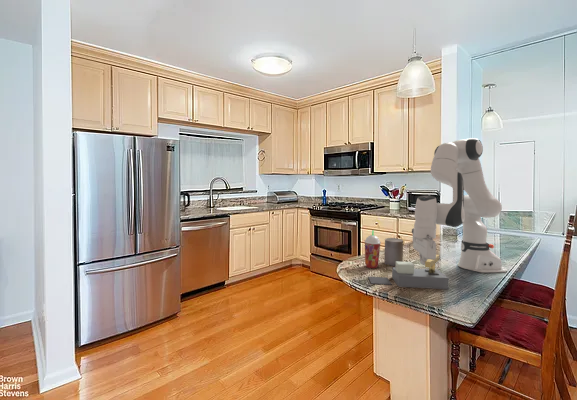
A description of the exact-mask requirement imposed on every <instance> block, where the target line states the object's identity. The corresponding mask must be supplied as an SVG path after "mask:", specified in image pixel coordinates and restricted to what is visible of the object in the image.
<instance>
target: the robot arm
mask: <svg viewBox="0 0 577 400" xmlns="http://www.w3.org/2000/svg"><path fill="white" fill-rule="evenodd" d="M483 151H484V147H483V144H482V141H481V140H479V139H478V138H477V137H469V138H466V139H465V138H463V139H457V140H454V141H450V142H444V143H441V144H440V145H437V147H436V148H435V150H434V153H433V158H432V161H431V165H430V175H431V176H432V177H433V179H435V180H436V181H437V182H439V183H441V184H444V185H446V186H449V187H451V188H452V202H450V203H441V202H437V198H436V197H435V196H433V195H420V196H417V199H416V203H415V207H414V219H415V221H414V225H413V228H412V229H411V234H412V248H413V250H415V251H416V252H418V254H419V255H418V256H419V263H420V264H421V265H422V266H425V261H427V260H428V259H433V260H434V259H436V254H437V243H436V241H435V240H434V239H436V237H437V225H441V226H446V227H451V228H458V227H459V226H461V225H462V240H461V243H460V250H461V252H460V257H459V260H458V263H457V266H458V267H460V268H461V269H465V270H469V271H474V272H478V273H507V272H508V270H507V268H506V267H504V266H503V264H502V263H503V262H502V259H501V258H500V257H499V256H498V255H497V254H495V253H494V252H493V251H492V250H491V249H494V248H495V245H494V244H492V243H488V242H487V240H488V239H487V237H488V228H487V226H486V225H485V224H484V223H483V221H482V218H484V219H485V218H487V219H491V218H496V217H498V216H499V215H500V214H501V211H502V208H503V207H502V202H501V201H500V200H499V199H498V198H496V197H495V196H494V195H493V194H492V193H491V191H490V190H489V188H488V186H487V184H486V181H485V177H484V173H483V172H484V171H483V167H482V164H481V161H480V157H481V156H482V154H483ZM464 192H465V193H466V194H465V193H464ZM464 194H465V195H464ZM506 271H507V272H506Z"/></svg>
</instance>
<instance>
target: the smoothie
mask: <svg viewBox="0 0 577 400" xmlns="http://www.w3.org/2000/svg"><path fill="white" fill-rule="evenodd" d="M374 232H375V231H374V229H373V230H372V231H371V235H368V236H367V237H366V239H364V264H365V267H366V268H368V269H377V268H378V266H379V261H380V260H379V259H380V251H381V244H382V243H381V241H380V239H379V237H378V236H377V235H375V233H374Z"/></svg>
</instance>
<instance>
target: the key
mask: <svg viewBox="0 0 577 400" xmlns="http://www.w3.org/2000/svg"><path fill="white" fill-rule="evenodd" d="M439 260H440V254H437V253H436V259H434V260H433V259H427V261H425V265H424V267H425V268H427V269H429V273H435V269H436V264H437V262H439Z"/></svg>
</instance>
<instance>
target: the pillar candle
mask: <svg viewBox="0 0 577 400" xmlns="http://www.w3.org/2000/svg"><path fill="white" fill-rule="evenodd" d="M383 255H384V256H383V257H384V258H383V260H384V261H383V262H384V264H385V265H387V266H390V267H395V266H396V261H400V262H404V259H403V258H404V257H403V256H404V240H403V239H401V238H397V237H395V236H394V237H388V238H385V239H384V254H383Z"/></svg>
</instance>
